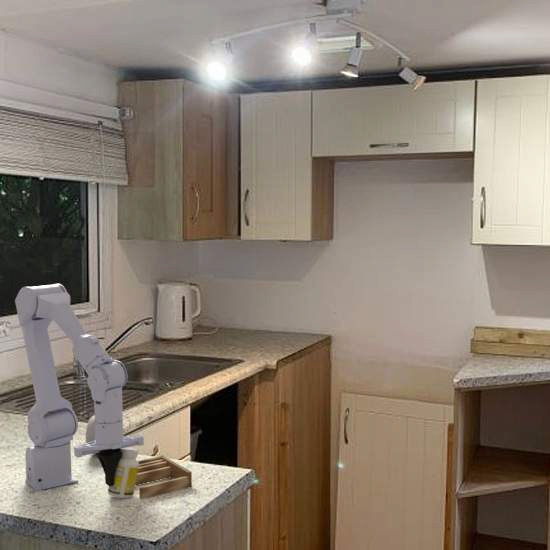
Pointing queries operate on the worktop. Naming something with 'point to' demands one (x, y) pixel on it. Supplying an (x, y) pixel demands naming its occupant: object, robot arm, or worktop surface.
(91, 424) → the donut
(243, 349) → the worktop surface
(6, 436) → the worktop surface
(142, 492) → the wooden slatted frame
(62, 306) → the robot arm
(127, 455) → the supplement bottle
